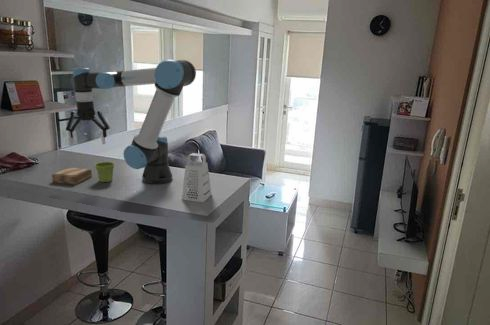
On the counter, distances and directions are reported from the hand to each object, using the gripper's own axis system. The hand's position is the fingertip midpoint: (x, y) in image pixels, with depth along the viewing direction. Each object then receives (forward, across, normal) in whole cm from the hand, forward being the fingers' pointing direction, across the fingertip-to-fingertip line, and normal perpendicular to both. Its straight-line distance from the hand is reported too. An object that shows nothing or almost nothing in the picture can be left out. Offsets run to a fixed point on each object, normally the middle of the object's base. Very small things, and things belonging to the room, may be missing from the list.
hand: (89, 144), depth 185 cm
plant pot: (+19, -6, 0) cm, 20 cm away
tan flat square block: (+18, +11, -2) cm, 22 cm away
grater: (+21, -53, +25) cm, 62 cm away
